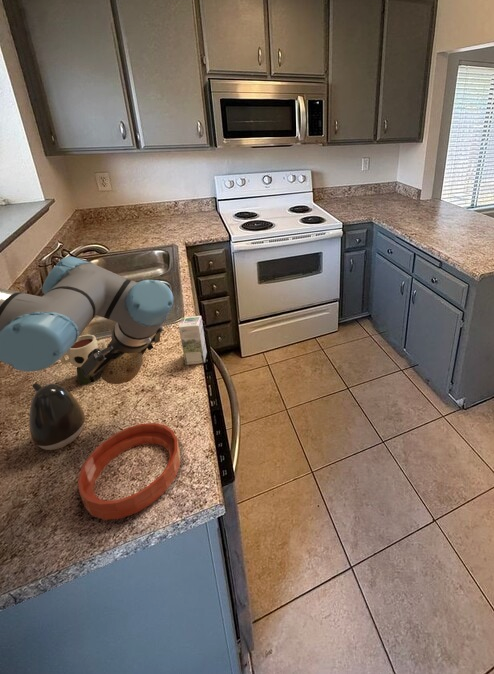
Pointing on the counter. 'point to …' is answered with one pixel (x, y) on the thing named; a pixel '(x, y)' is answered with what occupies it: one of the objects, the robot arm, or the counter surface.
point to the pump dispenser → (54, 417)
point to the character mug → (82, 355)
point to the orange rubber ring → (113, 449)
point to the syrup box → (193, 340)
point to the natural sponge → (123, 368)
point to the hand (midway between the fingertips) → (117, 363)
